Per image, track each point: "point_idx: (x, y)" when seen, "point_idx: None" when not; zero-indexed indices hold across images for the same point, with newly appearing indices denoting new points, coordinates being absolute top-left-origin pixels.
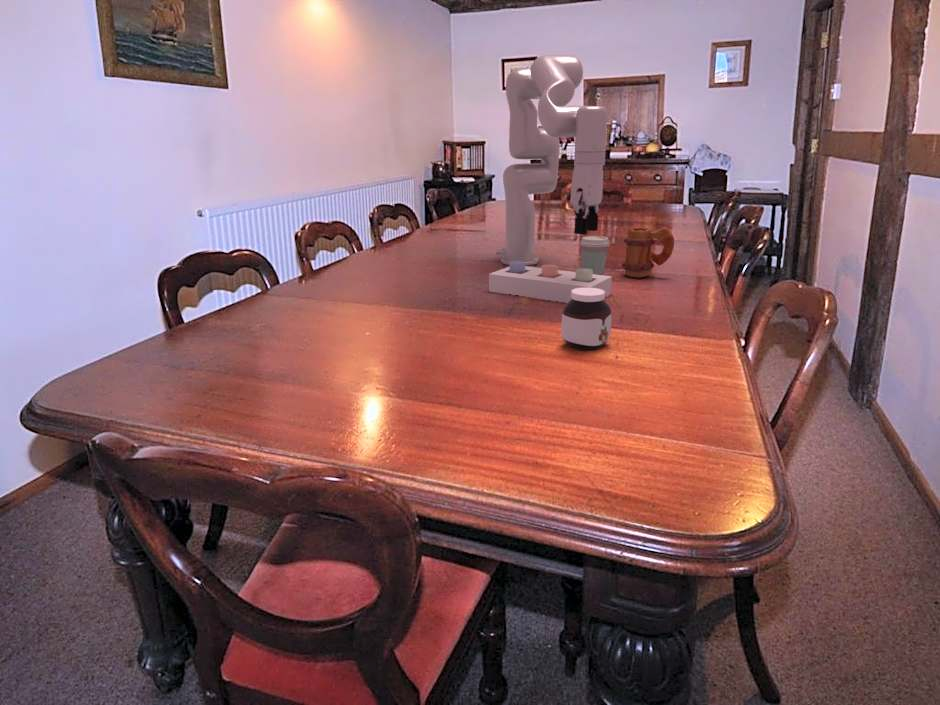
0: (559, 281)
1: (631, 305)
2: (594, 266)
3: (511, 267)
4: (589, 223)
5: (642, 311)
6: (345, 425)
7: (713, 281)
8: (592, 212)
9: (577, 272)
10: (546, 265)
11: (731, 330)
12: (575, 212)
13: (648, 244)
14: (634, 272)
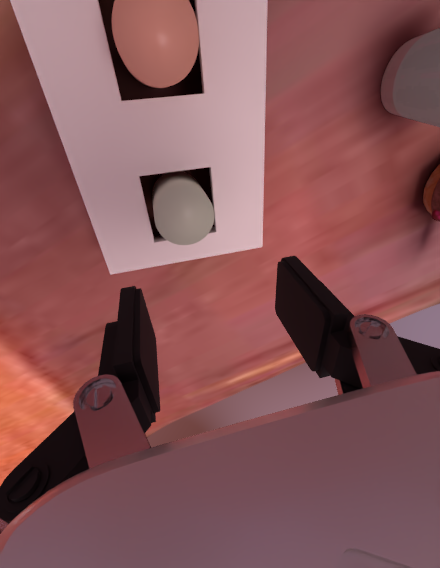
0: (93, 154)
1: (188, 301)
2: (411, 102)
3: None
4: (293, 303)
5: (163, 332)
6: None
7: (417, 307)
8: (340, 366)
9: (155, 206)
10: (156, 3)
11: (160, 427)
12: (18, 474)
13: None
14: (433, 191)
